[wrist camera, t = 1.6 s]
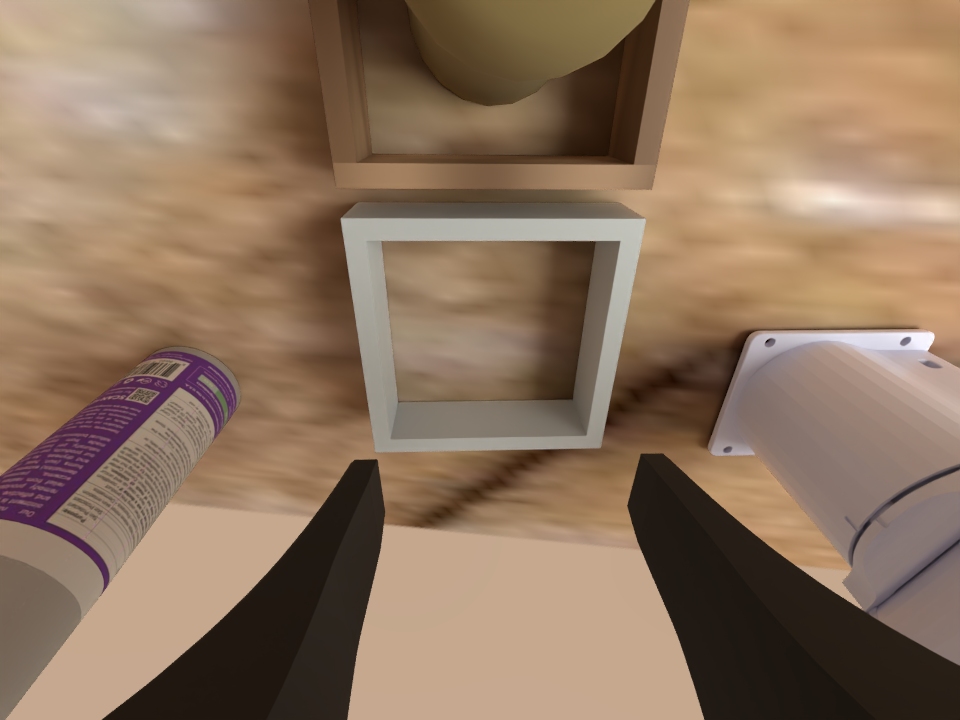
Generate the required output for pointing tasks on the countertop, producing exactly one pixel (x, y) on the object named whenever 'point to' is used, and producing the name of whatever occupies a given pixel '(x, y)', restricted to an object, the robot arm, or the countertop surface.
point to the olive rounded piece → (516, 41)
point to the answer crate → (493, 419)
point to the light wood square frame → (623, 169)
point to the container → (97, 500)
